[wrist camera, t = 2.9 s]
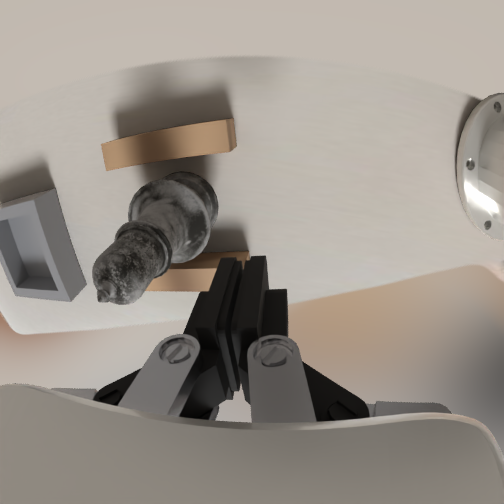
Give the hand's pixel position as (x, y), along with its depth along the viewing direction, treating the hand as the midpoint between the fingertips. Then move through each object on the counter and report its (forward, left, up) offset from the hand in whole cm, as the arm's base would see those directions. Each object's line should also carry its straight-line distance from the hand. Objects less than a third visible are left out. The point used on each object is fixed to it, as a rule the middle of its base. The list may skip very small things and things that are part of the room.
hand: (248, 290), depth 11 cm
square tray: (+24, +2, -11) cm, 27 cm away
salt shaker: (+6, 0, -11) cm, 13 cm away
